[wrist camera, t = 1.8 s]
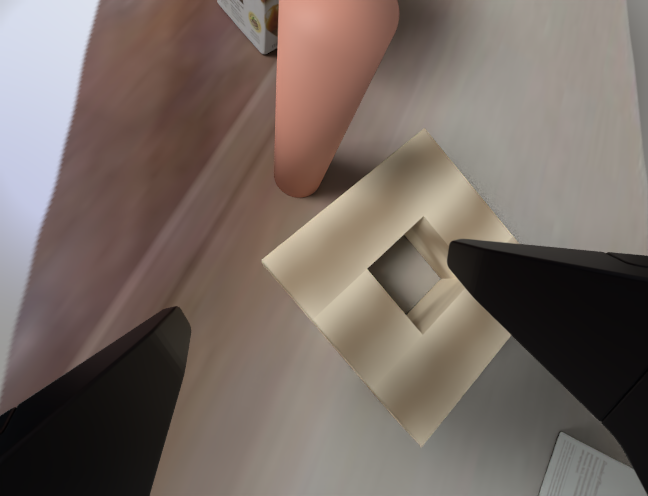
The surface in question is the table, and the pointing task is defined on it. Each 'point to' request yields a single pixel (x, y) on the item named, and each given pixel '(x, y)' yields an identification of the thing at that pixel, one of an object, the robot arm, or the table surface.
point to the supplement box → (587, 472)
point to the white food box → (255, 21)
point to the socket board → (375, 303)
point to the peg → (323, 80)
